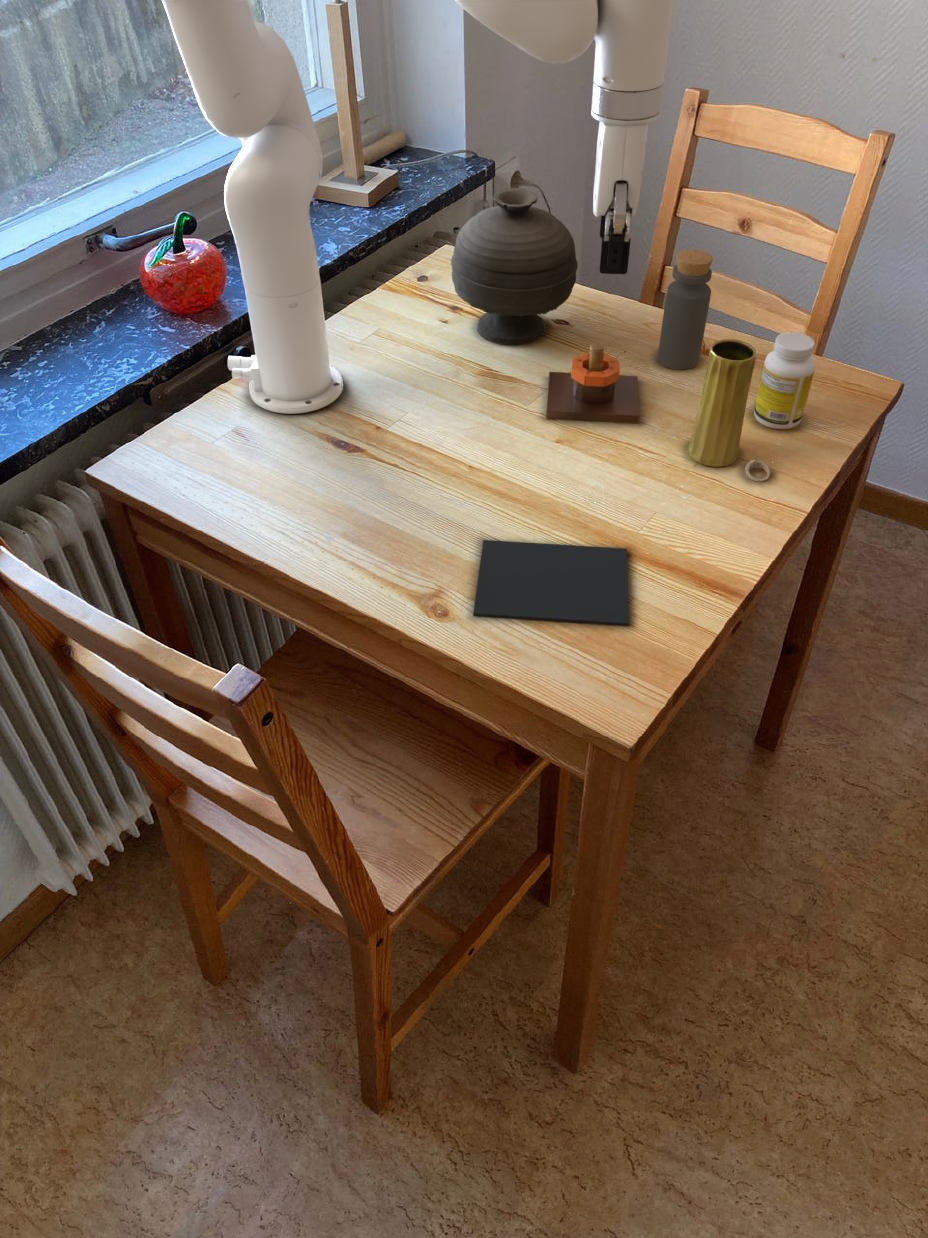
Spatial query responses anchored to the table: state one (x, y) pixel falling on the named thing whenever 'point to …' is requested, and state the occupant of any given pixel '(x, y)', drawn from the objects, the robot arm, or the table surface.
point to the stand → (593, 396)
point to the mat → (553, 583)
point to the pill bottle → (785, 381)
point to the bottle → (686, 311)
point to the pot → (514, 266)
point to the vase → (722, 403)
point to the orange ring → (592, 377)
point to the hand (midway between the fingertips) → (612, 254)
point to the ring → (758, 465)
